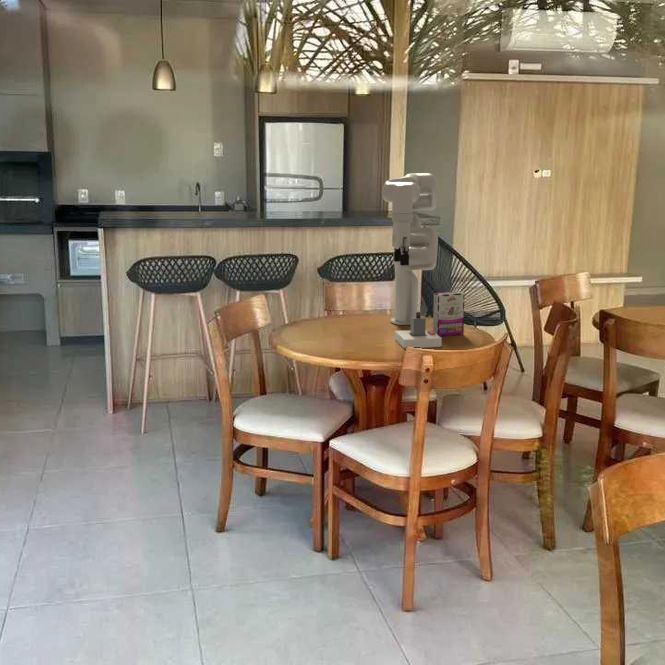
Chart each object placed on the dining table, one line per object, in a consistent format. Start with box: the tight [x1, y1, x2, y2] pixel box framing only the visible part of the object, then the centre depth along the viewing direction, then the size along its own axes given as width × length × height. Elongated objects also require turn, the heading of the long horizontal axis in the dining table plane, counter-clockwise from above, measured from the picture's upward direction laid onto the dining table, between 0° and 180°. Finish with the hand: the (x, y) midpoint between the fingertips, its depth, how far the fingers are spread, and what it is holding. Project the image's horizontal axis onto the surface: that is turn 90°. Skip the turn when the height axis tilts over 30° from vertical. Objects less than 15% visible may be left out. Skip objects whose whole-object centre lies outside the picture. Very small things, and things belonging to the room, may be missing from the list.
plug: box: [410, 311, 427, 336], centre depth 283 cm, size 4×4×11 cm
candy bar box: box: [432, 291, 465, 337], centre depth 295 cm, size 11×5×16 cm, turn 106°
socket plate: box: [394, 328, 443, 349], centre depth 284 cm, size 14×14×4 cm
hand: (401, 263), depth 289 cm, fingers open, 9 cm apart
